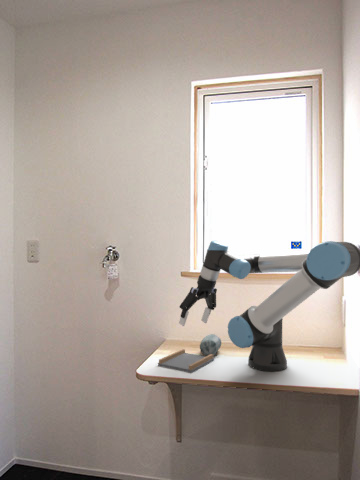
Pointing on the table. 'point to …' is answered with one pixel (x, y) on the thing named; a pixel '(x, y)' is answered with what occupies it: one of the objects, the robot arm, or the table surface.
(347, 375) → the table surface
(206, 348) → the grey thick cylinder
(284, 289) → the robot arm
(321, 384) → the table surface
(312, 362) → the table surface
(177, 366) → the slot board
